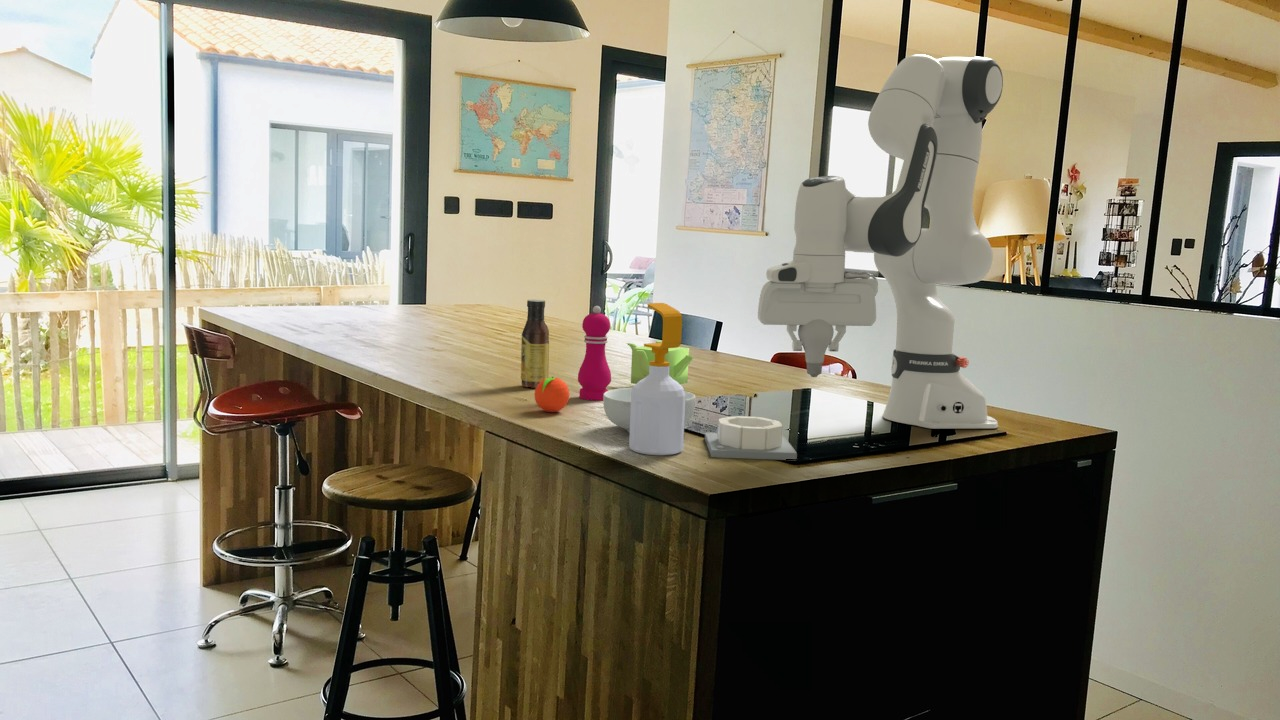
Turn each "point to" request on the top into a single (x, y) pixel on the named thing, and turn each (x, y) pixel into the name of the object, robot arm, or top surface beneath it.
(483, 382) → the top surface
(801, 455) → the top surface
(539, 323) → the sauce bottle
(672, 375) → the kettle
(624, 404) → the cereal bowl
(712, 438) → the mounting plate
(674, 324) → the soap bottle
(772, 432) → the socket ring
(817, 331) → the lightbulb
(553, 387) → the clementine
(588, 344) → the pepper mill
